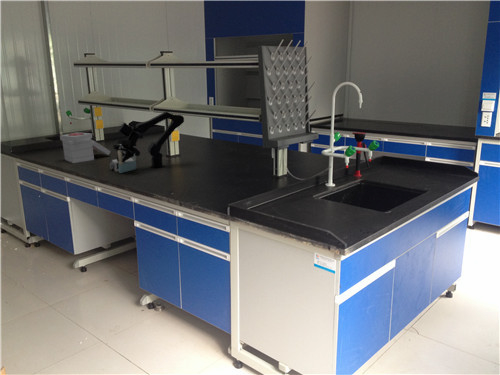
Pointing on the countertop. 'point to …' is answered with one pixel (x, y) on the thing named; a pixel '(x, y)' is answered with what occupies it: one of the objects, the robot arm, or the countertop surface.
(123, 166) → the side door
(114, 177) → the countertop surface
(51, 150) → the countertop surface
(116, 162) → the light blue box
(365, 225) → the countertop surface
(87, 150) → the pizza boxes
